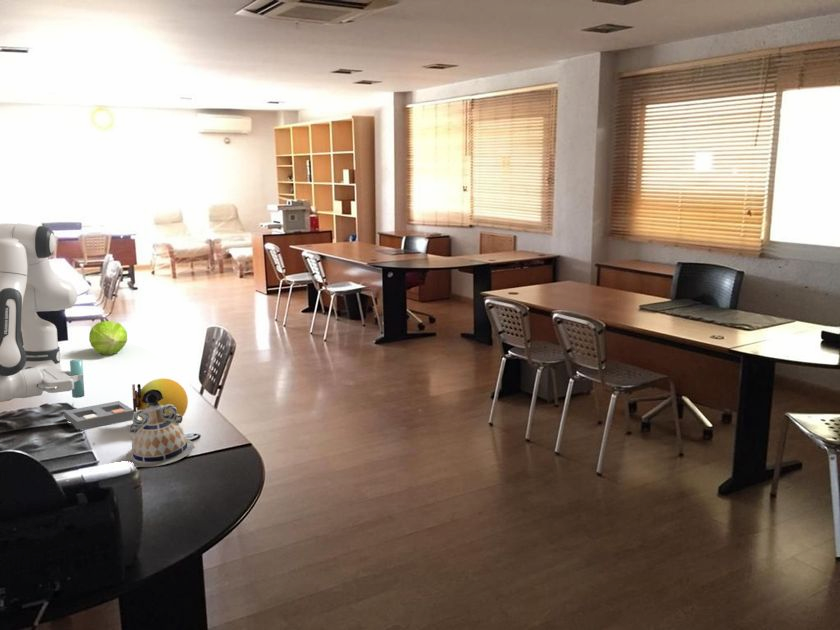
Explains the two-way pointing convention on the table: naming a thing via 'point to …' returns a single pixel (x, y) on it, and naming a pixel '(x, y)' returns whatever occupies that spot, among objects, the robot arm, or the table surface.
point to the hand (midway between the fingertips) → (79, 374)
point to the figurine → (157, 434)
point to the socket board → (99, 415)
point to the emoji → (170, 394)
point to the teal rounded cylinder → (78, 389)
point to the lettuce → (108, 337)
